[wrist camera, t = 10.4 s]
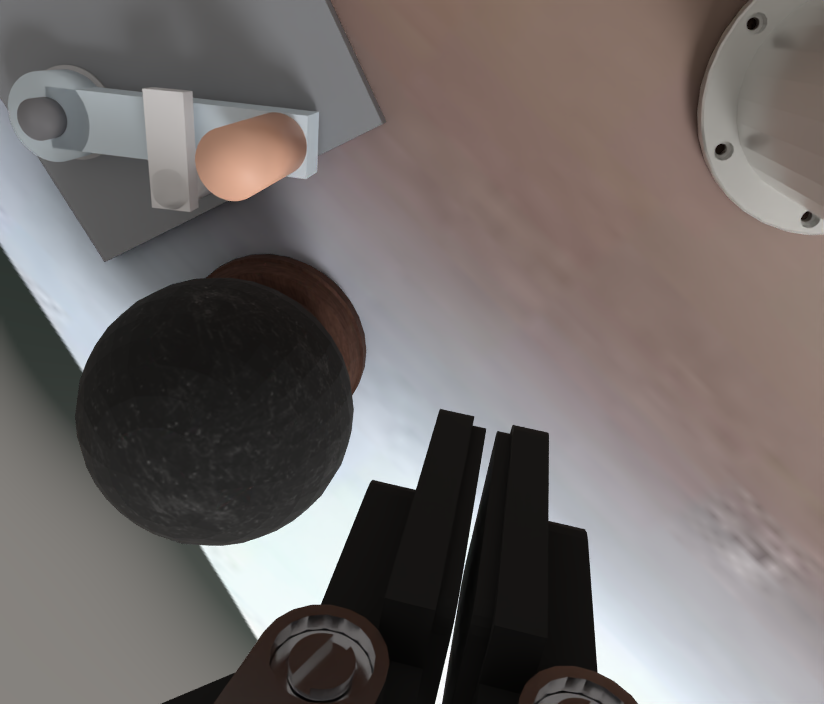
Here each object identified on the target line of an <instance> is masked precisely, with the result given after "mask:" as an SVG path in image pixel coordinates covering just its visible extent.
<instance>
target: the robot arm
mask: <svg viewBox="0 0 824 704" xmlns="http://www.w3.org/2000/svg"><path fill="white" fill-rule="evenodd" d="M752 17H753V18H755V19H756V26H755V28H754V29H752V30H749V29H748V28H747V22H748V20H749V19H750V18H752ZM697 120H698V138H699V142H700V146H701V149H702V153H703V157H704V161H705V163H706V165H707V167H708V169H709V171H710V173H711V175H712V177H713V179H714V181H715V182H716V183H717V185H718V186H719V187H720V188H721V190H722V191H723V192H724V193H725V194H726V196H727V197H728V198H729V199H730V200H731V201H732V202H734V203H735V204H736V205H737V206H738V207H739V208H740V209H742V210H743V211H744V212H746V213H748V214H749V215H751V216H752V217H754V218H756V219H757V220H759V221H760V222H762V223H764V224H767V225H770V226H773V227H775V228H778V229H781V230H784V231H787V232H792V233H798V234H804V235H824V0H749V1H748V2H747V3H746V4H745V5H744V6H743V7H742V8H741V10H740V11H739V12H738V13H737V15H736V16H735V17H734V19H733V20H732V21H731V23H730V24H729V25H728V27H727V28H726V29H725V31H724V32H723V34H722V36H721V38H720V40H719V42H718V44H717V45H716V47H715V49H714V51H713V53H712V55H711V57H710V59H709V62H708V65H707V68H706V71H705V74H704V77H703V80H702V83H701V88H700V95H699V102H698V109H697ZM722 143H723V144H724V146H725V149H724V151H723V152H721V153H719V154H717V153H716V152H715V148H716V146H717V145H719V144H722ZM807 211H809V216H808V217H807V218H806V219H804V220H801V217H802V215H803V214H804V213H805V212H807ZM473 421H474V416H470V415H465V414H461V413H456V412H452V411H447V410H443V409H440V411H439V414H438V417H437V420H436V424H435V427H434V431H433V434H432V437H431V441H430V444H429V448H428V451H427V454H426V458H425V461H424V465H423V468H422V471H421V475H420V478H419V481H418V485H417V488H416V490H413V489H409V488H405V487H401V486H396V485H392V484H388V483H383V482H379V481H375V480H372V481H371V482H370V484H369V486H368V489H367V491H366V494H365V496H364V499H363V501H362V504H361V506H360V509H359V511H358V513H357V516H356V518H355V521H354V523H353V526H352V528H351V531H350V533H349V536H348V538H347V541H346V543H345V546H344V548H343V551H342V553H341V556H340V558H339V561H338V563H337V566H336V568H335V571H334V573H333V576H332V578H331V581H330V583H329V586H328V588H327V591H326V593H325V596H324V598H323V601H322V603H321V605H309V606H305V607H301V608H297V609H293V610H291V611H289V612H288V613H286V614H284V615H282V616H280V617H279V618H277V619H276V620H275V621H274V622H273V623H272V624H271V625H270V626H269V627H268V628H267V629H266V630H265V631H264V632H263V634H262V635H261V636H260V638H259V639H258V641H257V642H256V644H255V645H254V646H253V648H252V649H251V651H250V652H249V654H248V655H247V656H246V658H245V659H244V661H243V662H242V664H241V665H240V667H239V668H238V669H237V671H236V672H235V673H233V674H231V675H229V676H226V677H223V678H221V679H219V680H216V681H214V682H212V683H209V684H207V685H204V686H202V687H200V688H198V689H195V690H193V691H190V692H188V693H185V694H184V695H181V696H178V697H176V698H174V699H171V700H169V701H166V702H164V703H162V704H435V701H436V697H437V692H438V688H439V684H440V680H441V675H442V671H443V667H444V663H445V659H446V654H447V650H448V646H449V642H450V637H451V633H452V629H453V624H454V619H455V614H456V609H457V604H458V609H457V615H456V621H455V627H454V633H453V640H452V646H451V652H450V658H449V664H448V670H447V677H446V683H445V689H444V695H443V701H442V704H638V703H637V702H636V701H635V699H634V698H633V697H632V696H631V695H630V694H629V693H628V692H626V691H625V690H624V689H623V688H622V687H620V686H619V685H618V684H617V683H615V682H614V681H612V680H611V679H609V678H607V677H605V676H603V675H601V674H599V673H597V660H596V646H595V632H594V618H593V604H592V590H591V576H590V562H589V548H588V537H587V532H586V531H585V529H581V528H577V527H573V526H568V525H564V524H560V523H555V522H551V521H548V493H549V433H547V432H543V431H538V430H534V429H529V428H524V427H520V426H515V425H513V426H512V429H511V432H510V434H508V433H504V432H499V431H497V434H496V437H495V441H494V446H493V450H492V454H491V458H490V463H489V467H488V471H487V475H486V480H485V484H484V488H483V492H482V497H481V501H480V505H479V509H478V514H477V518H476V522H475V526H474V531H473V535H472V539H471V543H470V548H469V552H468V556H467V560H466V565H465V569H464V574H463V568H464V562H465V556H466V550H467V544H468V537H469V531H470V525H471V519H472V513H473V507H474V501H475V495H476V488H477V482H478V476H479V470H480V464H481V458H482V452H483V446H484V440H485V433H486V429H485V428H481V427H476V426H473ZM462 574H463V579H462ZM461 580H462V584H461ZM460 586H461V590H460ZM459 592H460V596H459ZM458 598H459V603H458Z"/></svg>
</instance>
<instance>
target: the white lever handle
mask: <svg viewBox="0 0 824 704" xmlns="http://www.w3.org/2000/svg"><path fill="white" fill-rule="evenodd" d="M193 111H194V130H195V148H196V154H195V164H196V169H197V172H198V175H199V177H200V179H201V181H202V183H203V184H204V185H205V187H206V188H207V189H208V190H209V191H210V192H212V193H213V194H214V195H216V196H217V197H219V198H222V199H225V200H229V201H241V200H245V199H247V198H249V197H251V196H253V195H254V194H256V193H258V192H260V191H261V190H263V189H265V188H267V187H268V186H270V185H272V184H274V183H275V182H277V181H279V180H281V179H282V178H284V177H294V178H302V179H307V178H309V177H310V176H312V175H313V174H315V173H316V172H317V161H318V129H319V112H316V111H307V110H298V109H289V108H280V107H271V106H262V105H253V104H245V103H236V102H227V101H218V100H209V99H200V98H193ZM8 114H9V118H10V122H11V125H12V127H13V129H14V131H15V133H16V135H17V137H18V138H19V140H20V141H21V142H22V143H23V144H24V146H25V147H26V148H27V149H29V150H30V151H31V152H32V153H34V154H35V155H37V156H38V157H40V158H42V159H45V160H48V161H52V162H65V161H69V160H72V159H76V158H80V157H84V156H87V155H91V154H93V153H97V154H105V155H113V156H122V157H130V158H138V159H146V160H148V153H147V140H146V128H145V116H144V104H143V92H137V91H128V90H119V89H111V88H102V87H97V86H96V85H95V84H94V83H93V82H92V81H91V80H90V79H88V78H87V77H86V76H84V75H82V74H80V73H78V72H75V71H72V70H67V69H58V70H44V71H33V72H29V73H26V74H24V75H23V76H21V77H20V78H19V79H18V80H17V81H16V82H15V83H14V85H13V86H12V88H11V90H10V94H9V98H8Z"/></svg>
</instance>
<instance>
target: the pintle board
mask: <svg viewBox="0 0 824 704" xmlns="http://www.w3.org/2000/svg"><path fill="white" fill-rule="evenodd" d="M58 69H67V70H72V71H75V72H78V73H80V74H82V75H84V76H86V77H87V78H88V79H90V80H91V81H92V82H93V83H94V84H95V85H96V86H97V87H102V88H111V89H119V90H128V91H137V92H143V104H144V116H145V128H146V140H147V153H148V160H146V159H138V158H130V157H122V156H113V155H105V154H97V153H93V154H91V155H87V156H84V157H80V158H76V159H72V160H69V161H65V162H52V161H48V160H45V159H42V158H40V157H38V158H39V160H40V161H41V163H42V164H43V166H44V167H45V169H46V171H47V172H48V174H49V175H50V177H51V178H52V180H53V182H54V183H55V185H56V186H57V188H58V189H59V191H60V193H61V194H62V196H63V197H64V199H65V200H66V202H67V204H68V205H69V207H70V208H71V210H72V211H73V213H74V215H75V216H76V218H77V219H78V221H79V222H80V224H81V226H82V227H83V229H84V230H85V232H86V233H87V235H88V237H89V238H90V240H91V241H92V243H93V245H94V246H95V248H96V249H97V251H98V252H99V254H100V256H101V257H102V259H103V260H104V262H106V261H108V260H110V259H112V258H114V257H116V256H118V255H120V254H122V253H124V252H126V251H128V250H130V249H132V248H134V247H136V246H138V245H140V244H142V243H144V242H146V241H148V240H150V239H152V238H154V237H156V236H158V235H160V234H162V233H164V232H166V231H168V230H170V229H172V228H174V227H176V226H178V225H180V224H182V223H184V222H186V221H188V220H190V219H192V218H194V217H196V216H198V215H200V214H202V213H204V212H206V211H208V210H210V209H212V208H214V207H216V206H218V205H220V204H222V203H225V202H227V201H229V200H225V199H222V198H219V197H217V196H216V195H214V194H213V193H212V192H210V191H209V190H208V189H207V188H206V187H205V185H204V184H203V183H202V181H201V179H200V177H199V175H198V172H197V169H196V164H195V154H196V148H195V130H194V111H193V98H200V99H209V100H218V101H227V102H236V103H245V104H253V105H262V106H271V107H280V108H289V109H298V110H307V111H316V112H319V129H318V156H319V155H321V154H323V153H325V152H327V151H329V150H331V149H333V148H335V147H337V146H339V145H341V144H343V143H345V142H347V141H349V140H351V139H353V138H355V137H357V136H359V135H361V134H363V133H365V132H367V131H369V130H371V129H373V128H375V127H377V126H379V125H381V124H383V123H385V122H386V120H385V118H384V116H383V114H382V112H381V110H380V107H379V105H378V103H377V101H376V99H375V97H374V94H373V92H372V90H371V88H370V86H369V84H368V81H367V79H366V77H365V75H364V73H363V71H362V68H361V66H360V64H359V62H358V60H357V58H356V55H355V53H354V51H353V49H352V47H351V45H350V42H349V40H348V38H347V36H346V34H345V32H344V29H343V27H342V25H341V23H340V21H339V19H338V16H337V14H336V12H335V10H334V8H333V6H332V3H331V1H330V0H0V98H1V100H2V101H3V103H4V104H5V106H6V108H7V109H8V98H9V94H10V90H11V88H12V86H13V85H14V83H15V82H16V81H17V80H18V79H19V78H20V77H21V76H23V75H24V74H26V73H29V72H33V71H44V70H58Z"/></svg>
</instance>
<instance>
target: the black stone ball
mask: <svg viewBox="0 0 824 704" xmlns="http://www.w3.org/2000/svg"><path fill="white" fill-rule="evenodd" d="M365 359H366V343H365V334H364V331H363V328H362V325H361V321H360V318H359V316H358V314H357V312H356V310H355V309H354V307H353V305H352V303H351V301H350V300H349V299H348V297H347V296H346V295H345V294H344V293H343V291H342V290H341V289H340V288H339V286H338V285H336V284H335V283H334V282H333V281H332V280H331V279H329V278H328V277H327V276H326V275H325V274H324V273H322V272H320V271H318V270H317V269H315V268H313V267H312V266H310V265H308V264H306V263H304V262H301V261H298V260H295V259H293V258H290V257H285V256H279V255H273V254H259V255H249V256H245V257H241V258H237V259H234V260H232V261H230V262H228V263H226V264H224V265H222V266H220V267H219V268H217V269H216V270H215V271H214V272H212V273H211V274H210V275H209V276H208V277H206V278H203V279H193V280H188V281H184V282H180V283H176V284H172V285H170V286H168V287H165V288H163V289H161V290H159V291H157V292H155V293H153V294H151V295H149V296H147V297H145V298H143V299H141V300H139V301H137V302H136V303H135V304H133V305H132V306H131V307H130V308H129V309H128V310H126V311H125V312H124V313H123V314H122V315H120V316H119V317H118V318H117V319H116V320H115V321H114V322H113V323H112V324H111V325H110V326H109V327H108V328H107V329H106V331H105V332H104V334H103V335H102V336H101V338H100V339H99V341H98V342H97V344H96V345H95V347H94V349H93V351H92V352H91V354H90V356H89V358H88V360H87V363H86V365H85V368H84V370H83V373H82V376H81V378H80V383H79V390H78V398H77V406H76V414H75V420H76V429H77V438H78V441H79V444H80V447H81V451H82V454H83V457H84V460H85V464H86V467H87V469H88V471H89V473H90V475H91V477H92V479H93V480H94V483H95V484H96V485H97V487H98V488H99V490H100V491H101V492H102V494H103V495H104V496H105V498H106V499H107V500H108V501H109V502H110V503H111V504H112V505H113V506H114V507H115V508H116V509H117V510H118V511H119V512H120V513H121V514H123V515H124V516H125V517H127V518H128V519H129V520H131V521H132V522H133V523H135V524H136V525H138V526H140V527H142V528H143V529H145V530H147V531H149V532H151V533H153V534H155V535H158V536H161V537H164V538H167V539H170V540H173V541H176V542H179V543H182V544H195V545H209V546H223V545H231V544H238V543H244V542H247V541H250V540H253V539H256V538H259V537H261V536H264V535H267V534H269V533H272V532H274V531H277V530H278V529H280V528H282V527H283V526H285V525H287V524H288V523H290V522H292V521H293V520H295V519H296V518H297V517H298V516H300V515H301V514H302V513H303V512H304V511H306V510H307V509H308V508H309V507H310V506H311V505H312V504H313V503H314V502H315V501H316V500H317V499H318V498H319V497H320V496H321V495H322V494H323V492H324V491H325V489H326V488H327V486H328V485H329V483H330V481H331V480H332V478H333V477H334V475H335V474H336V472H337V470H338V469H339V467H340V466H341V464H342V461H343V458H344V455H345V452H346V449H347V446H348V443H349V439H350V435H351V431H352V421H353V411H354V408H353V400H352V395H353V393H354V392H355V390H356V388H357V386H358V384H359V382H360V379H361V376H362V373H363V370H364V367H365Z"/></svg>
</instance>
